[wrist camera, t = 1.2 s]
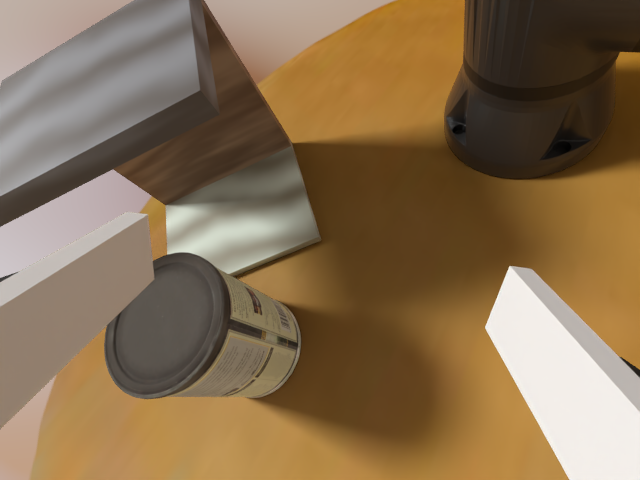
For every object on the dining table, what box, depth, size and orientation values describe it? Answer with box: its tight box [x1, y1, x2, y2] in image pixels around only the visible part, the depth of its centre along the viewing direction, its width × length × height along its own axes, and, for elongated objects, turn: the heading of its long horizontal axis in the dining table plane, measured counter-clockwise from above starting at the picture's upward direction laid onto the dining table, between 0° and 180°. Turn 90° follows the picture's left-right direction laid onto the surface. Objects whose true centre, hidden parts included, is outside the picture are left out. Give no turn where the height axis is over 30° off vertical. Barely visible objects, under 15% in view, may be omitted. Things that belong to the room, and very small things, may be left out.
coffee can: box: [104, 252, 301, 399], centre depth 30 cm, size 10×10×14 cm
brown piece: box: [0, 0, 321, 277], centre depth 35 cm, size 16×20×22 cm
